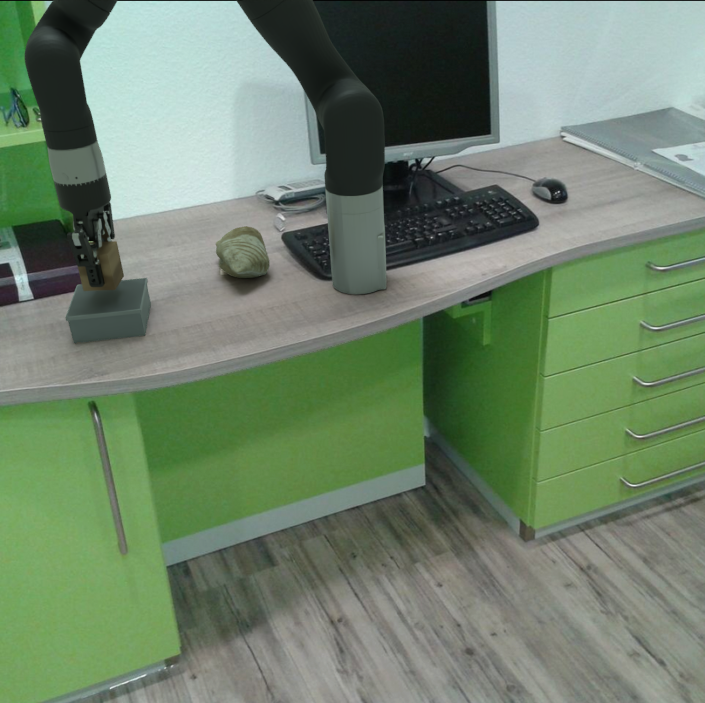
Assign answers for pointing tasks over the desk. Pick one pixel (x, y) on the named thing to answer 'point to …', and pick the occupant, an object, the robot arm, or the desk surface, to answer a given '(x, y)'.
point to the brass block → (105, 268)
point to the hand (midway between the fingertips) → (103, 277)
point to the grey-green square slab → (109, 312)
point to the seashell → (243, 253)
